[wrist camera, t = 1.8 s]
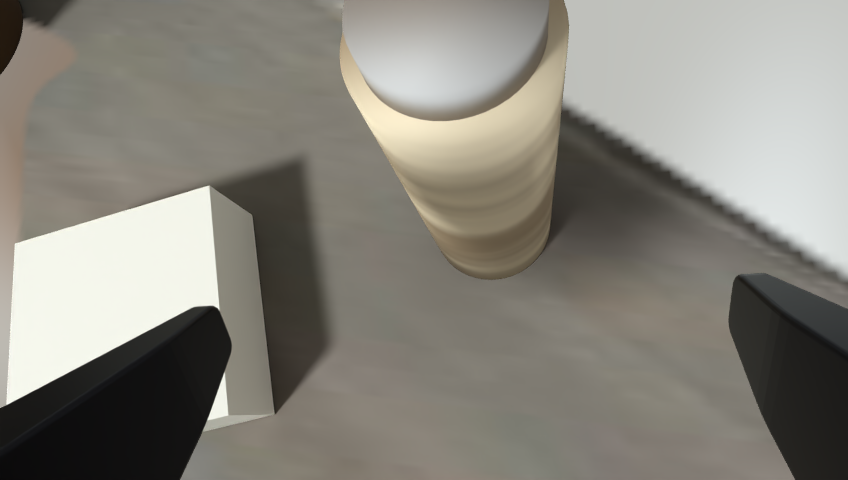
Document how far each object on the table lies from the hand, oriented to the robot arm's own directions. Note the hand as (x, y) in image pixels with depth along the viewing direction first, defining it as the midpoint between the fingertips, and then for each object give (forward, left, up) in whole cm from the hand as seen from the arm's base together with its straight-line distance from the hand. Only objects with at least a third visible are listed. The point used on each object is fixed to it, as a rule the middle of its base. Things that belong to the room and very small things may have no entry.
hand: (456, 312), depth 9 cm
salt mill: (+6, -1, -12) cm, 13 cm away
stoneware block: (+5, +14, -12) cm, 19 cm away
